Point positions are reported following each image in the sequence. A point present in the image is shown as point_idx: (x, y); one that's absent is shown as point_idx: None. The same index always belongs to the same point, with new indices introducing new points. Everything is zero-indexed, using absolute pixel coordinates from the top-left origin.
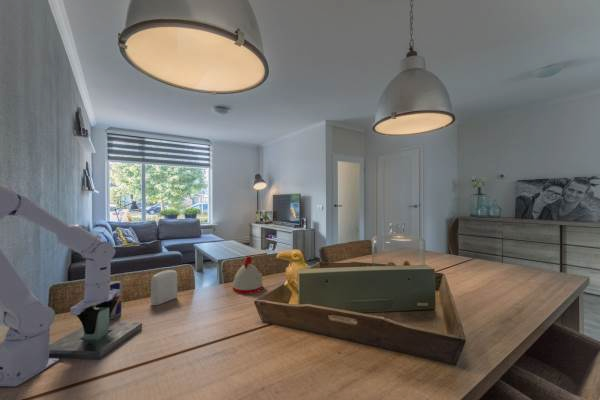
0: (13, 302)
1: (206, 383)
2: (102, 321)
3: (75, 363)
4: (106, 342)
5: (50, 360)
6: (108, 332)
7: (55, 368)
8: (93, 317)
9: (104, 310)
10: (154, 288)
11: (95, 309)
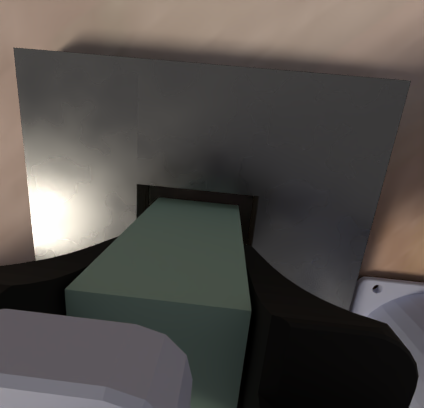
0: None
1: None
2: (192, 243)
3: (393, 190)
4: (293, 120)
5: (372, 305)
6: (156, 202)
7: (417, 248)
8: (318, 301)
9: (146, 295)
10: None
11: (291, 379)
